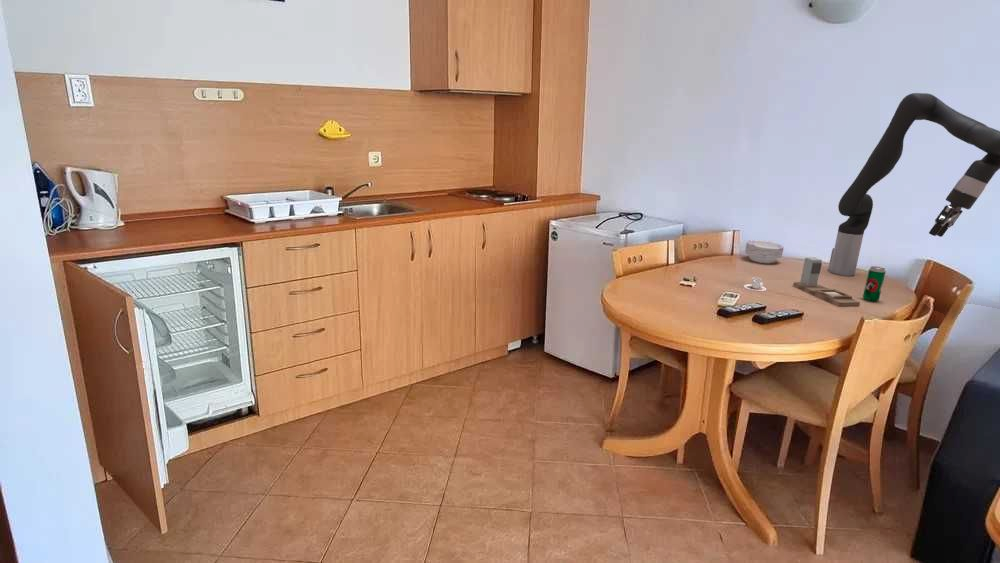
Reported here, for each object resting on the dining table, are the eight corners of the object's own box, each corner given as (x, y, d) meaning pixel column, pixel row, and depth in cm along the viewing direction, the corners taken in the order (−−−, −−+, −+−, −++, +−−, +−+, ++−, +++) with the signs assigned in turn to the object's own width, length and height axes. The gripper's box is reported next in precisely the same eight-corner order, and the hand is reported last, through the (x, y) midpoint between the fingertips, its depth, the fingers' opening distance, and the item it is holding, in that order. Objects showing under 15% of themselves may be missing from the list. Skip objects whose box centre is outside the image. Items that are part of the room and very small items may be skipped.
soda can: (881, 302, 211) (888, 270, 207) (865, 301, 212) (872, 268, 208) (875, 298, 215) (882, 266, 212) (860, 297, 216) (867, 265, 213)
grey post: (800, 283, 226) (805, 257, 223) (809, 282, 227) (814, 257, 224) (808, 286, 221) (814, 260, 218) (818, 286, 222) (823, 260, 219)
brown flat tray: (793, 286, 227) (794, 280, 226) (811, 285, 228) (812, 279, 228) (839, 306, 204) (840, 300, 204) (859, 306, 206) (860, 299, 205)
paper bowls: (787, 266, 257) (790, 248, 255) (752, 264, 256) (755, 246, 254) (771, 257, 271) (774, 240, 269) (738, 256, 271) (741, 239, 269)
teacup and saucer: (755, 284, 228) (757, 274, 227) (772, 290, 221) (774, 280, 220) (738, 286, 224) (740, 276, 223) (755, 292, 218) (757, 282, 216)
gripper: (958, 189, 204) (928, 231, 211) (949, 185, 195) (918, 229, 201) (982, 198, 200) (951, 241, 206) (974, 195, 190) (941, 239, 196)
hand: (935, 235), depth 204 cm, fingers open, 8 cm apart
